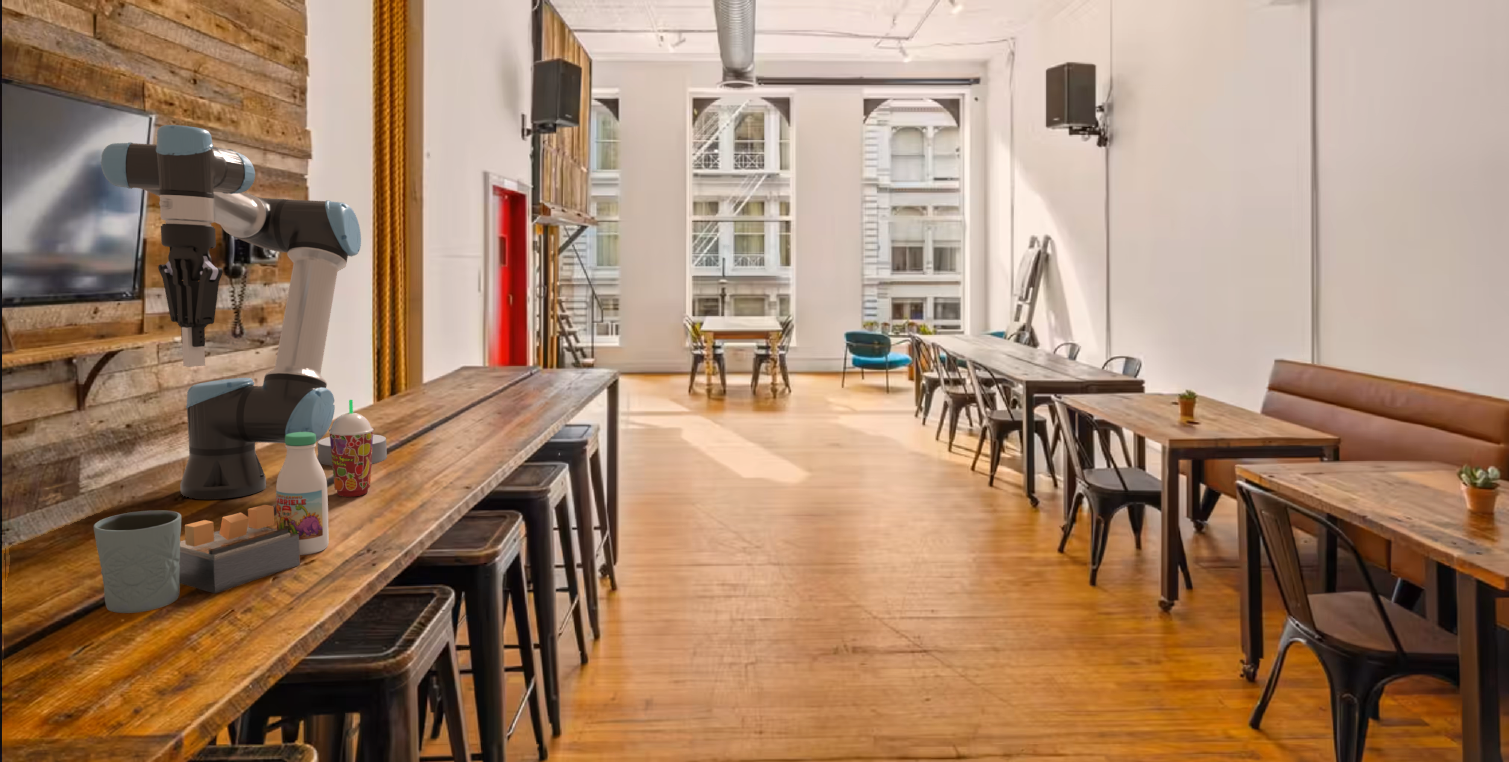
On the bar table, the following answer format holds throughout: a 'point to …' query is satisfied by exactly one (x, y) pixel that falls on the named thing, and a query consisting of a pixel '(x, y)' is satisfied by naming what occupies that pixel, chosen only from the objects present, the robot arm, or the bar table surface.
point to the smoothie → (351, 453)
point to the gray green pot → (139, 559)
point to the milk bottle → (303, 494)
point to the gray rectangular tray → (237, 559)
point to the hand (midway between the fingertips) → (194, 365)
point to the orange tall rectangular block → (199, 533)
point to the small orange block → (234, 526)
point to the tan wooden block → (261, 516)
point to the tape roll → (377, 450)
